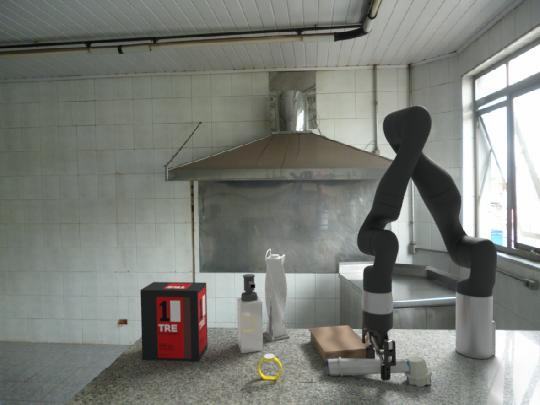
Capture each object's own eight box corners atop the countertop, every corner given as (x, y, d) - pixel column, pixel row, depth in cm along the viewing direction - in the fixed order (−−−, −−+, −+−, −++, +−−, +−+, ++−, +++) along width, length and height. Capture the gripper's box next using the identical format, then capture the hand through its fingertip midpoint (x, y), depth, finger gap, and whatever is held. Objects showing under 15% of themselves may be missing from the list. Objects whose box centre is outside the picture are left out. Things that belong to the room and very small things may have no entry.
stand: (348, 337, 116) (348, 325, 116) (370, 362, 99) (370, 347, 99) (308, 340, 114) (308, 328, 114) (325, 366, 97) (324, 351, 97)
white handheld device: (326, 354, 96) (426, 349, 91) (330, 379, 96) (430, 375, 91) (325, 363, 91) (431, 359, 86) (329, 390, 91) (435, 387, 86)
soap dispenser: (242, 356, 104) (241, 280, 103) (237, 344, 112) (236, 273, 112) (264, 353, 105) (263, 278, 105) (258, 341, 114) (257, 272, 113)
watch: (258, 382, 91) (256, 358, 90) (259, 376, 93) (257, 353, 93) (281, 381, 90) (279, 358, 90) (282, 375, 93) (280, 353, 93)
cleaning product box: (142, 359, 103) (140, 290, 102) (155, 346, 112) (153, 281, 111) (199, 361, 101) (197, 290, 101) (207, 347, 110) (206, 282, 110)
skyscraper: (258, 332, 121) (257, 249, 120) (280, 328, 125) (279, 247, 124) (270, 342, 114) (269, 253, 113) (292, 337, 117) (291, 250, 116)
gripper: (406, 316, 85) (406, 384, 85) (378, 298, 99) (379, 357, 99) (375, 318, 84) (376, 387, 84) (352, 300, 98) (352, 359, 98)
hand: (377, 371), depth 92 cm, fingers open, 8 cm apart
